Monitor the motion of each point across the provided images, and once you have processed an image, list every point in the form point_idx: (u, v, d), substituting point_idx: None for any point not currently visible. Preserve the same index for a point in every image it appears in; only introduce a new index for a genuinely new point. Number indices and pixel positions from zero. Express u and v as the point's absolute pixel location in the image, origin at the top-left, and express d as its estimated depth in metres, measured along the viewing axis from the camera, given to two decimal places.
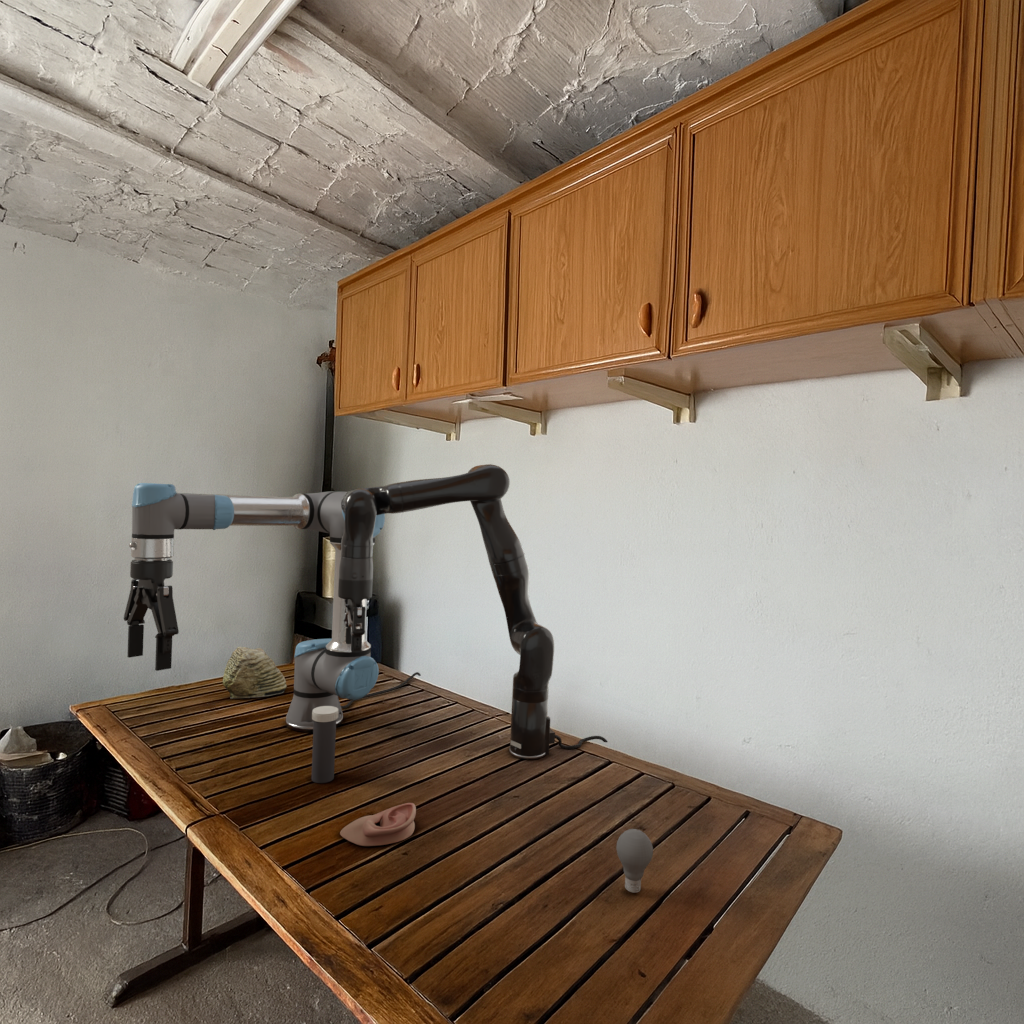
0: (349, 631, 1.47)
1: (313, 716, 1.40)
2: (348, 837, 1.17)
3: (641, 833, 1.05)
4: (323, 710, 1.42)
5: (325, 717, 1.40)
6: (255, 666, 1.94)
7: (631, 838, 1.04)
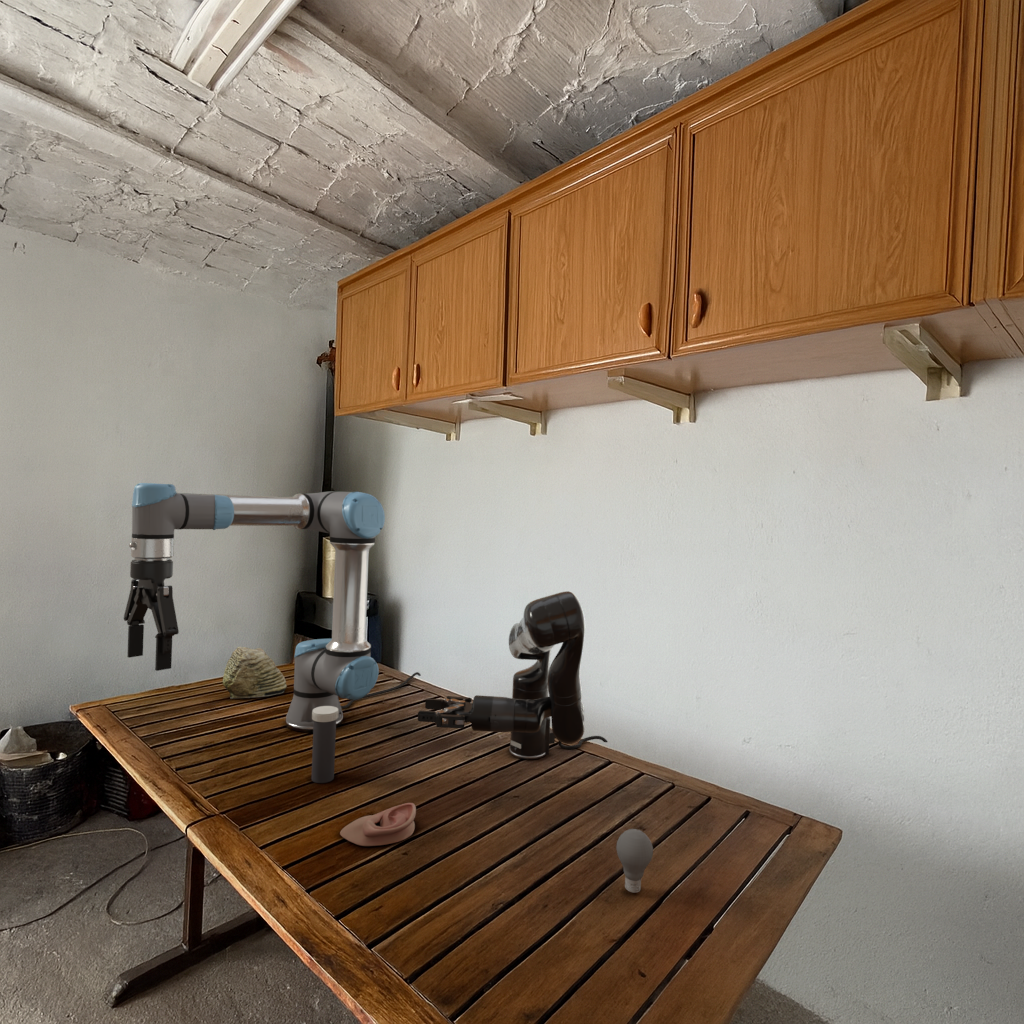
0: None
1: (313, 716, 1.40)
2: (348, 837, 1.17)
3: (641, 833, 1.05)
4: (323, 710, 1.42)
5: (325, 717, 1.40)
6: (255, 666, 1.94)
7: (631, 838, 1.04)
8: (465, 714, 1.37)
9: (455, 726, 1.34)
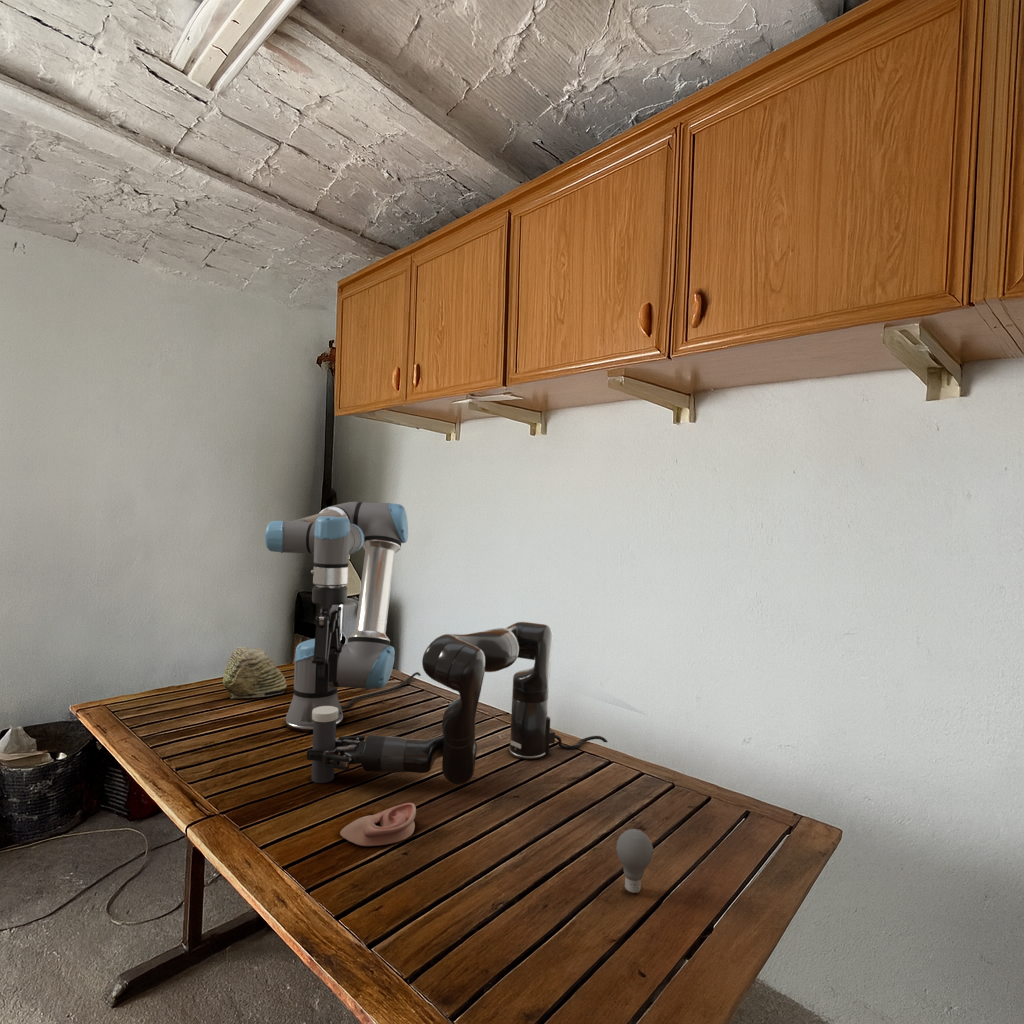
0: None
1: (313, 716, 1.40)
2: (348, 837, 1.17)
3: (641, 833, 1.05)
4: (323, 710, 1.42)
5: (325, 717, 1.39)
6: (255, 666, 1.94)
7: (631, 838, 1.04)
8: (354, 756, 1.38)
9: (339, 767, 1.36)
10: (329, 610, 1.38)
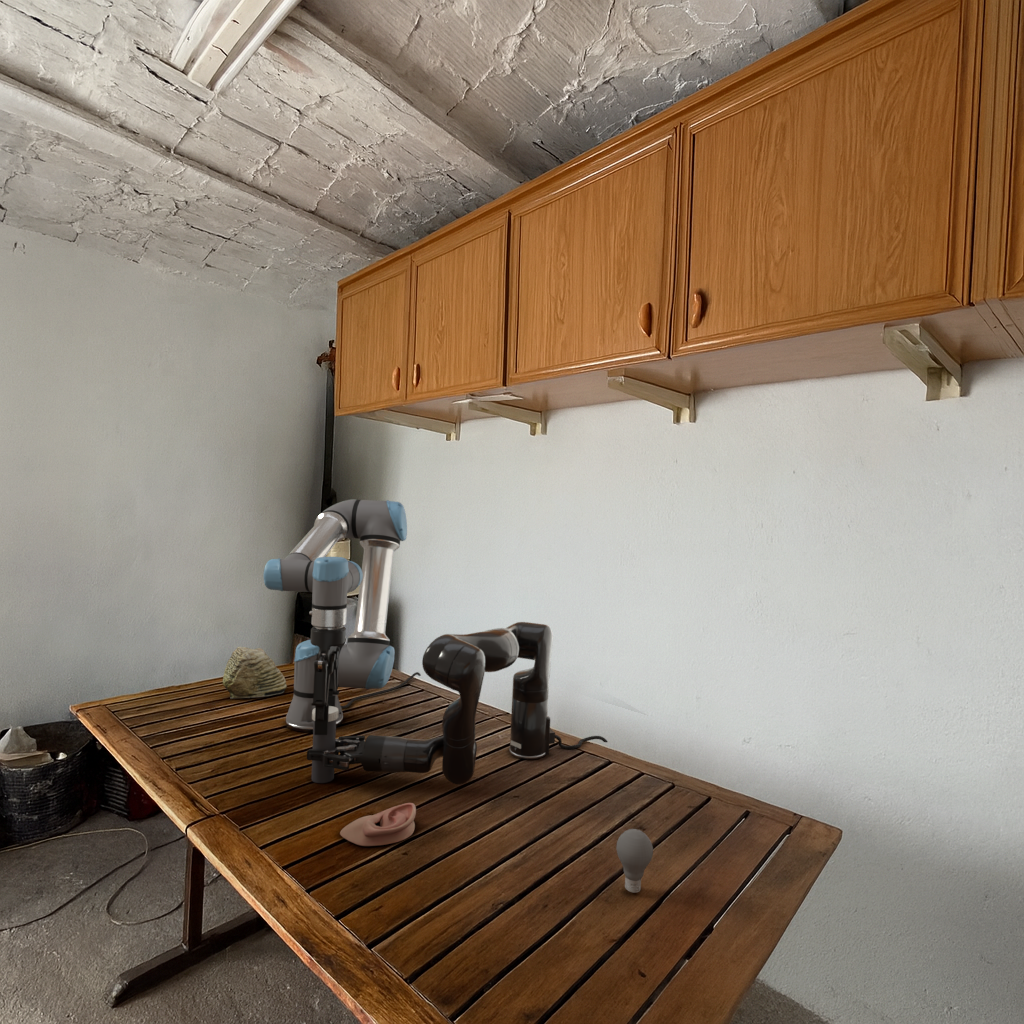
0: None
1: (313, 716, 1.40)
2: (348, 837, 1.17)
3: (641, 833, 1.05)
4: None
5: None
6: (255, 666, 1.94)
7: (631, 838, 1.04)
8: (354, 756, 1.38)
9: (339, 767, 1.36)
10: (327, 652, 1.38)
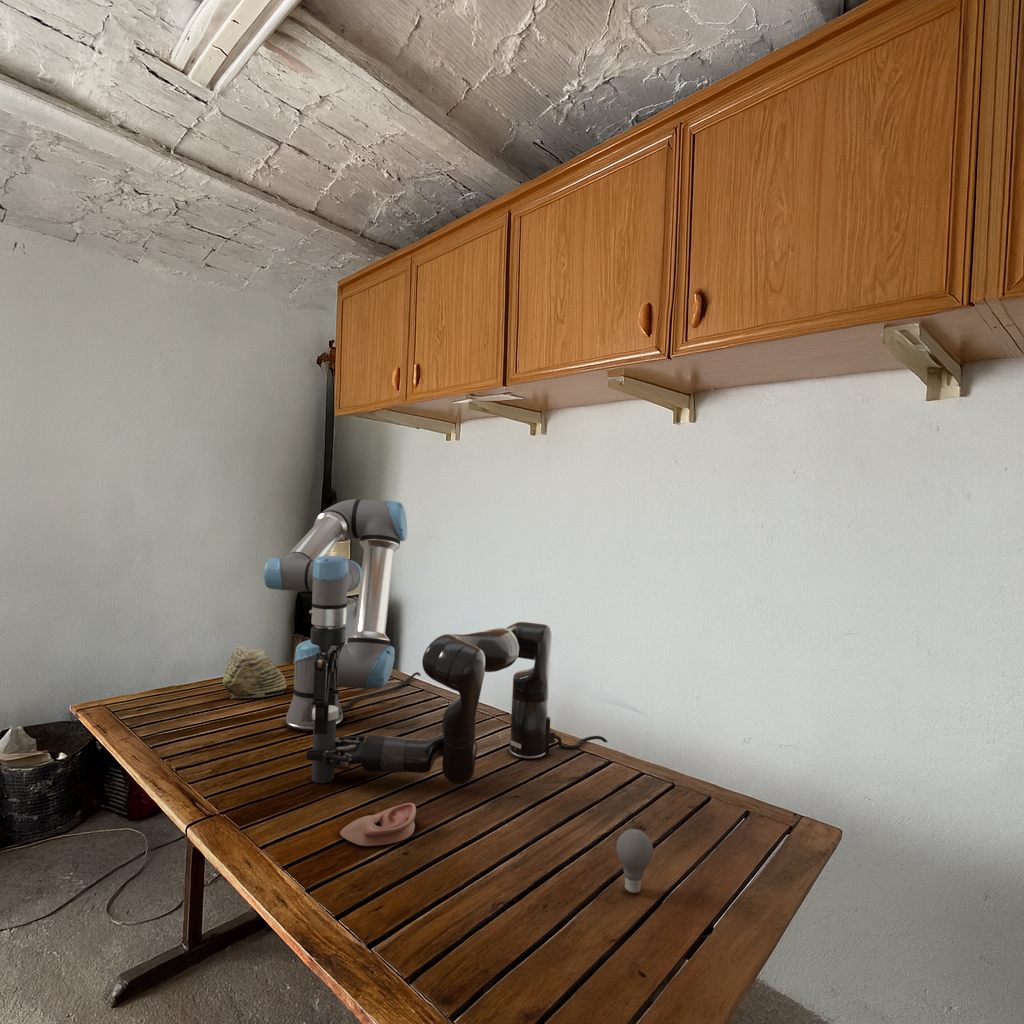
0: None
1: None
2: (348, 837, 1.17)
3: (641, 833, 1.05)
4: None
5: (336, 713, 1.41)
6: (255, 666, 1.94)
7: (631, 838, 1.04)
8: (354, 756, 1.38)
9: (339, 767, 1.36)
10: (327, 651, 1.38)
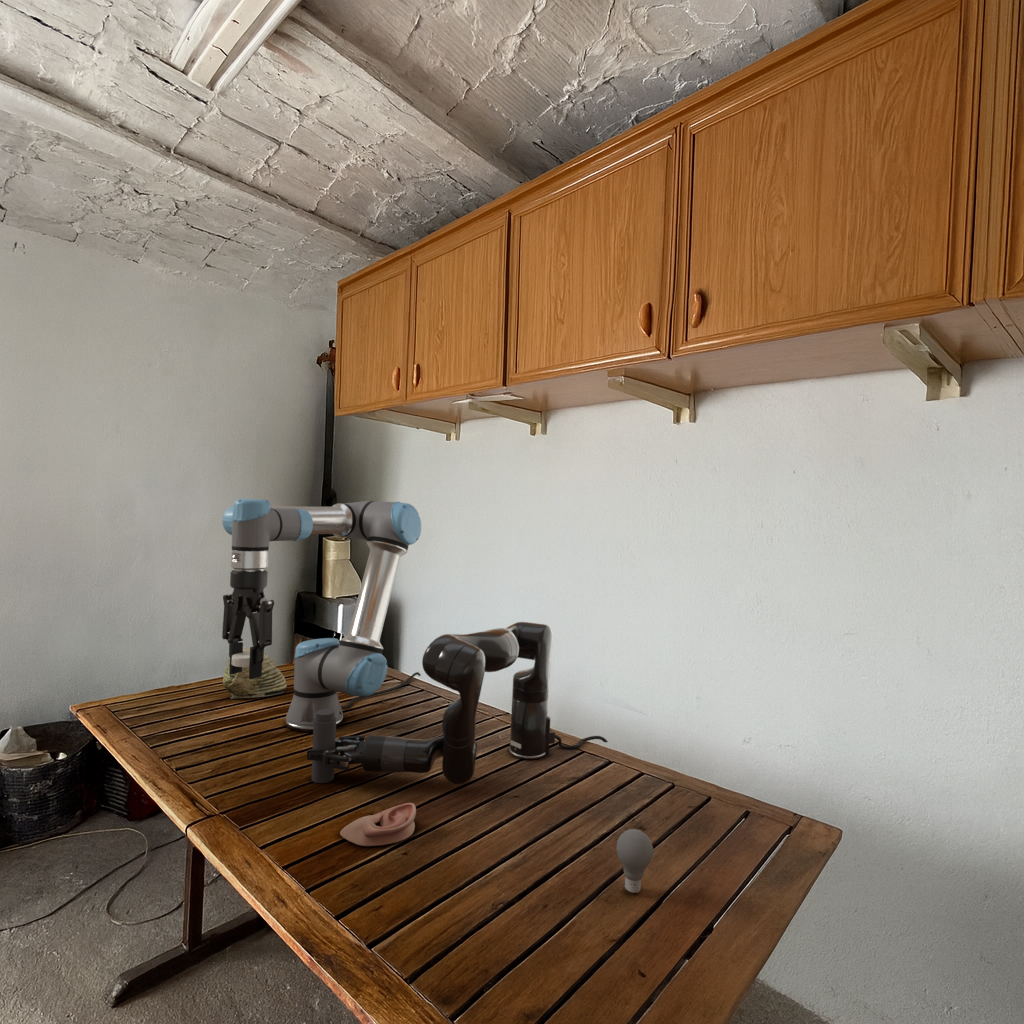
0: None
1: None
2: (348, 837, 1.17)
3: (641, 833, 1.05)
4: (248, 655, 1.38)
5: None
6: None
7: (631, 838, 1.04)
8: (354, 756, 1.38)
9: (339, 767, 1.36)
10: (263, 593, 1.37)
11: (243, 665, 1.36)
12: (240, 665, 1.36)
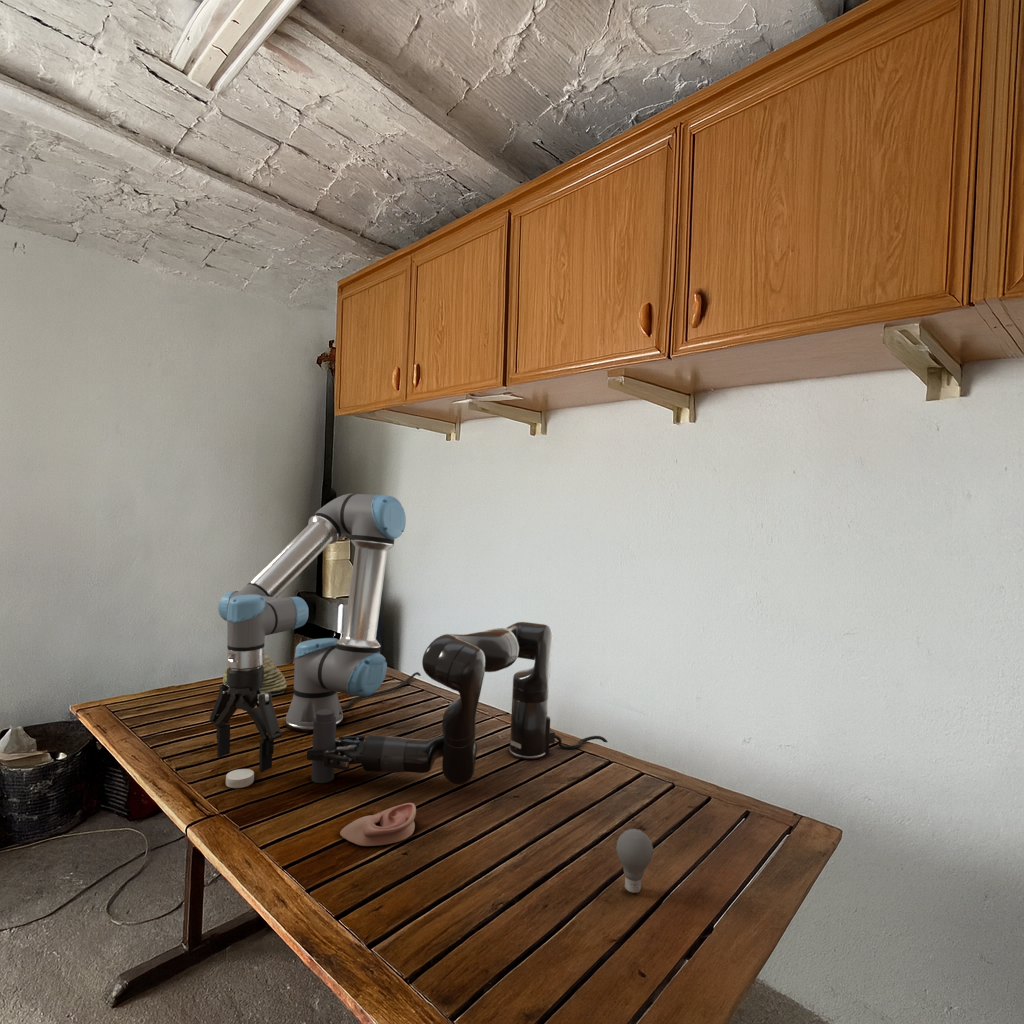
0: None
1: (250, 780, 1.38)
2: (348, 837, 1.17)
3: (641, 833, 1.05)
4: (242, 774, 1.39)
5: None
6: None
7: (631, 838, 1.04)
8: (354, 756, 1.38)
9: (339, 767, 1.36)
10: None
11: (237, 786, 1.36)
12: (234, 786, 1.36)
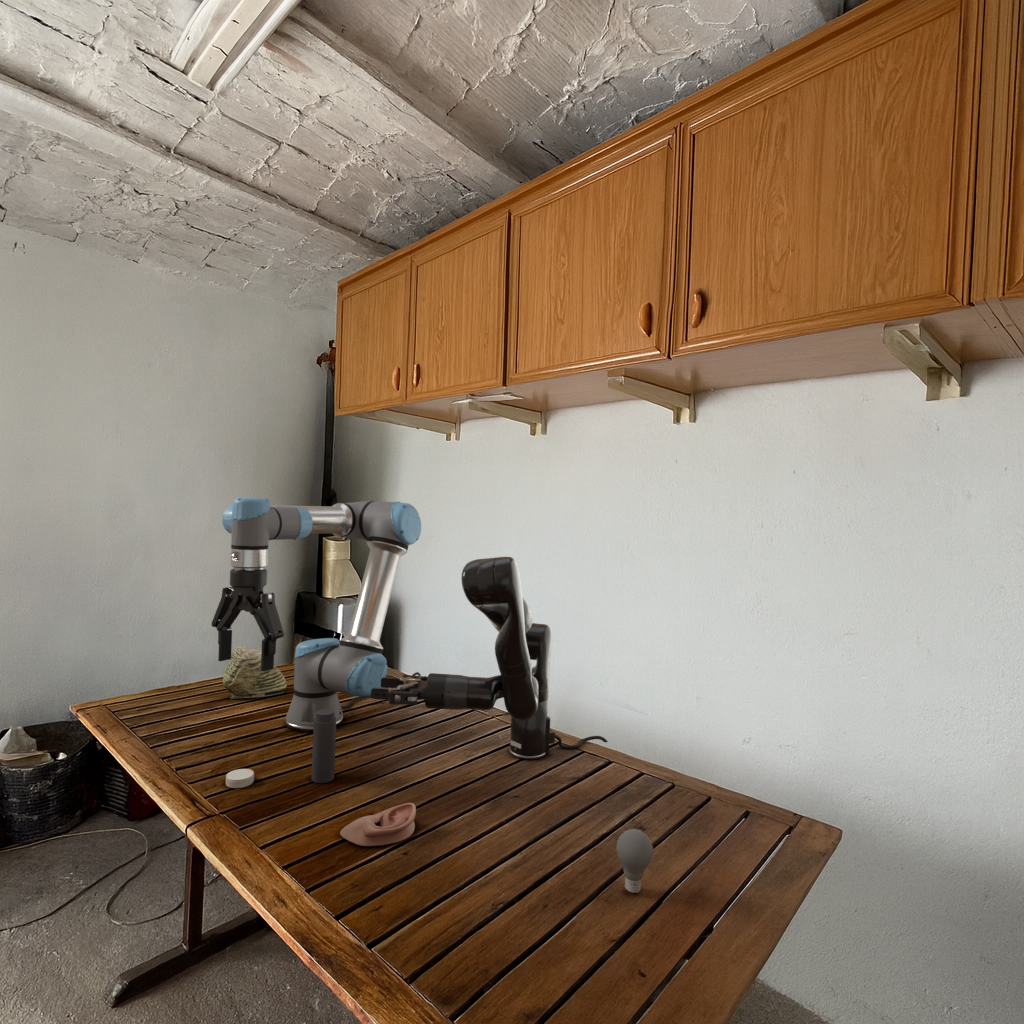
0: None
1: (250, 780, 1.38)
2: (348, 837, 1.17)
3: (641, 833, 1.05)
4: (242, 774, 1.39)
5: None
6: (255, 666, 1.94)
7: (631, 838, 1.04)
8: (418, 691, 1.37)
9: (407, 703, 1.34)
10: (263, 592, 1.37)
11: (237, 786, 1.36)
12: (234, 786, 1.36)
